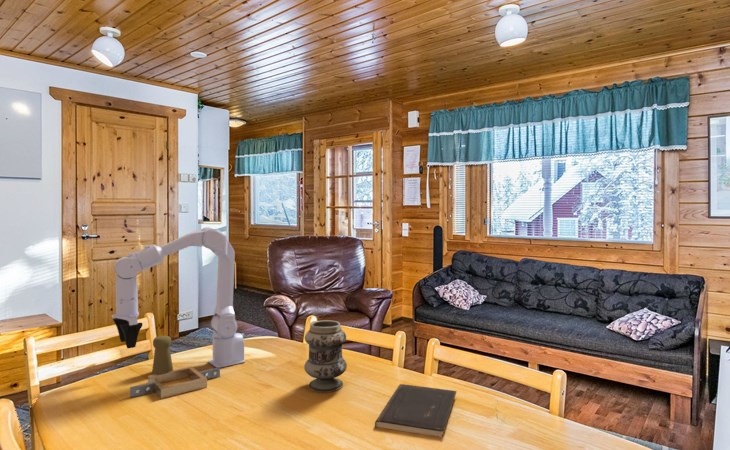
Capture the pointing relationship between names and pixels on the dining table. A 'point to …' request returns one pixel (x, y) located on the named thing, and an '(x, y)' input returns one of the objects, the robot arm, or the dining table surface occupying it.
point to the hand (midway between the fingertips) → (127, 344)
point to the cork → (162, 355)
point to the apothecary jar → (325, 355)
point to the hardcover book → (417, 410)
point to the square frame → (163, 392)
